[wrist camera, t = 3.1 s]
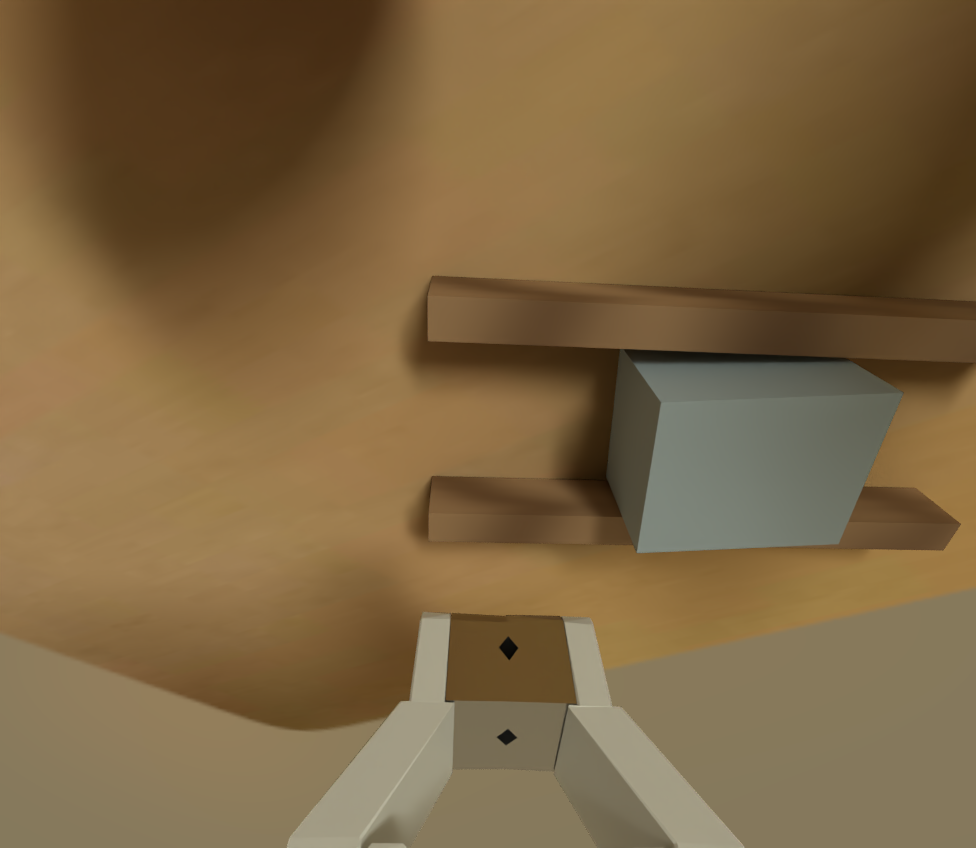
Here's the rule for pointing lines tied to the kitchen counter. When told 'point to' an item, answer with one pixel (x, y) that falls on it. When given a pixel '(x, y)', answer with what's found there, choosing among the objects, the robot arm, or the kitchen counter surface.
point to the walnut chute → (694, 328)
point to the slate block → (742, 447)
